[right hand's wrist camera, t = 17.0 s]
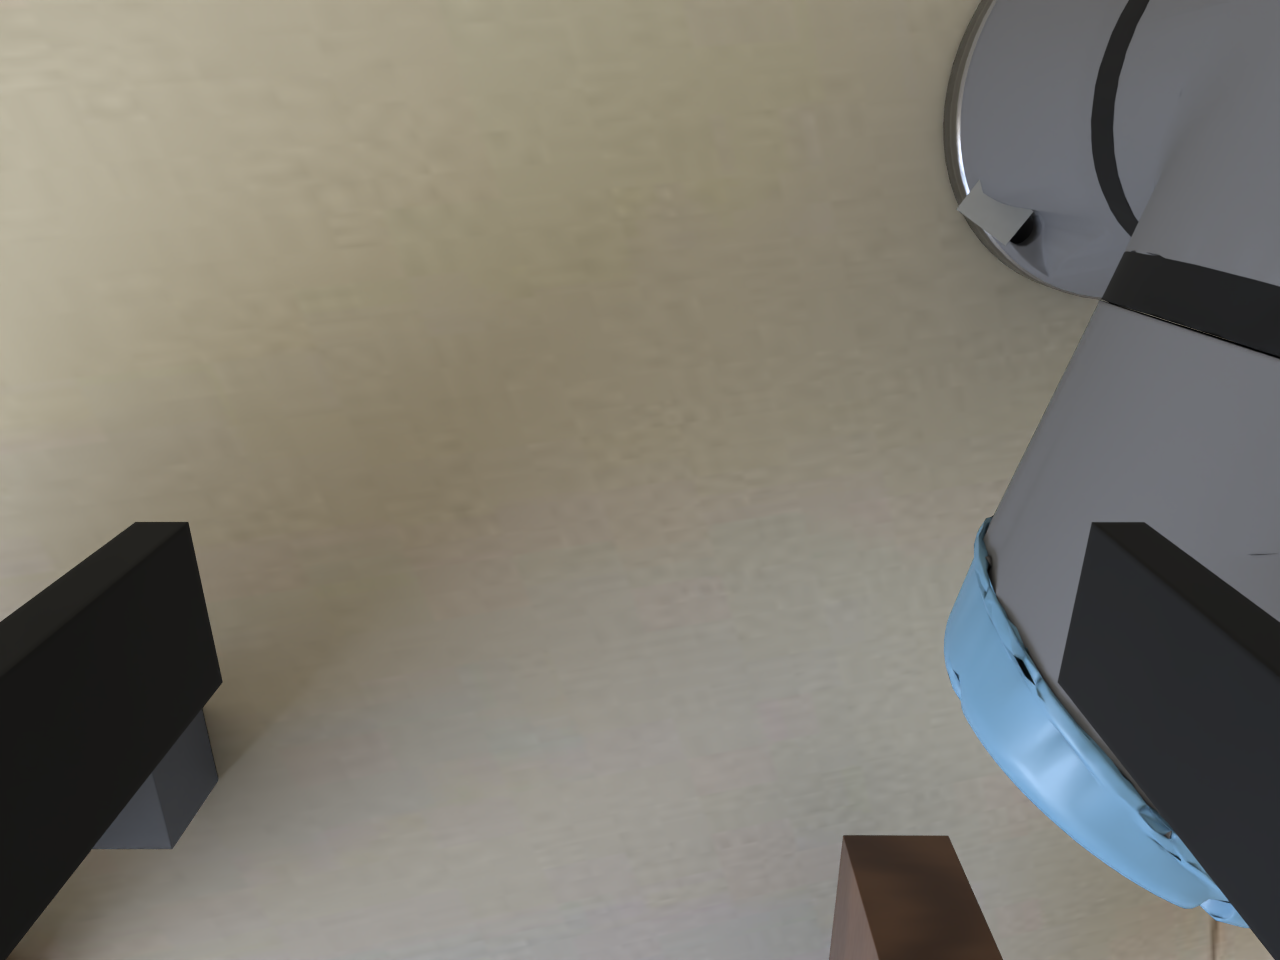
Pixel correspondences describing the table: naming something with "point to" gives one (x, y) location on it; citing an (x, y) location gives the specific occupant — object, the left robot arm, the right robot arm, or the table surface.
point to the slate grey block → (167, 795)
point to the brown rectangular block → (906, 902)
